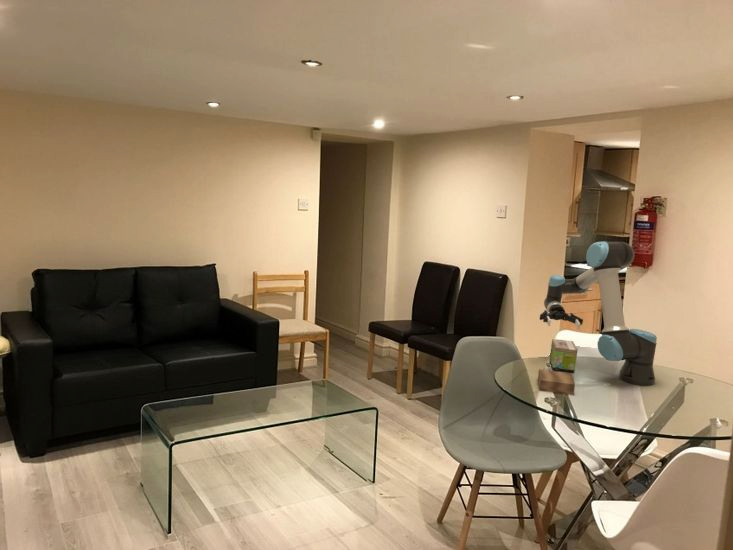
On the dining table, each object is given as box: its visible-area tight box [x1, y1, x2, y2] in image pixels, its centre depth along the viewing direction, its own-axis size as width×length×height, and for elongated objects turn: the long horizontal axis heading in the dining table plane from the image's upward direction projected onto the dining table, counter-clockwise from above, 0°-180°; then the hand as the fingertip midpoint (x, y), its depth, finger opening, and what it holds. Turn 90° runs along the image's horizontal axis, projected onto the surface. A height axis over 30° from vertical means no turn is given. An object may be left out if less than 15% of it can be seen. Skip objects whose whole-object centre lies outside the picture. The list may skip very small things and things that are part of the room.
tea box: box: [548, 338, 579, 380], centre depth 273 cm, size 15×10×15 cm
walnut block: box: [537, 369, 576, 395], centre depth 258 cm, size 14×14×5 cm
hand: (564, 324), depth 278 cm, fingers open, 13 cm apart
